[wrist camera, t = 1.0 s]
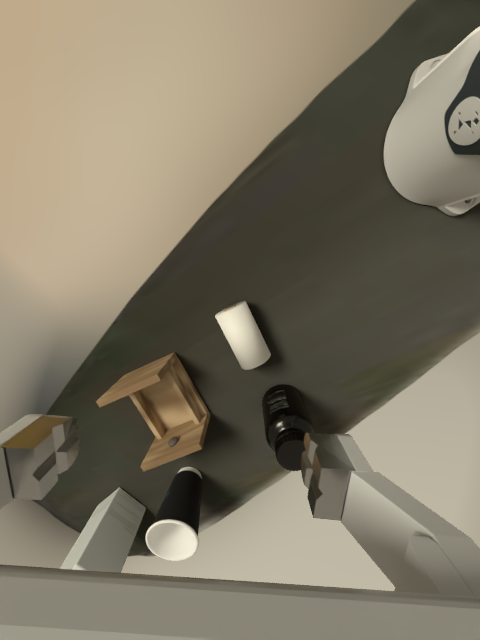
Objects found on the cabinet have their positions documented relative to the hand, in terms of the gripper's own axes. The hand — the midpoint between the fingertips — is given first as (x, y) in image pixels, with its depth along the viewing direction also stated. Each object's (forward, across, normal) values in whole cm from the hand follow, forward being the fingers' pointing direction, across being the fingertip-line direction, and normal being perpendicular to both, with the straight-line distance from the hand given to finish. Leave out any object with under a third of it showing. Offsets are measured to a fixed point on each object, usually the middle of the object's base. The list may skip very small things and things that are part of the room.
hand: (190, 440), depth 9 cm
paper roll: (+28, -2, +4) cm, 28 cm away
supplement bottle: (+30, -9, +16) cm, 36 cm away
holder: (+30, +10, +17) cm, 36 cm away
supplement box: (+31, +20, +43) cm, 57 cm away
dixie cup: (+31, +6, +34) cm, 47 cm away
